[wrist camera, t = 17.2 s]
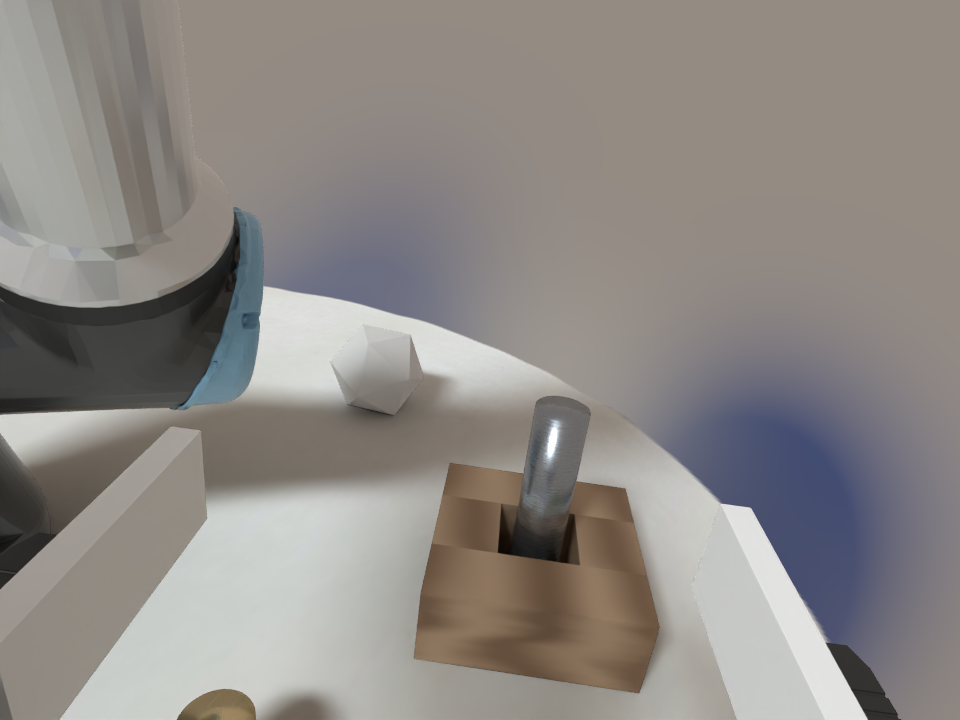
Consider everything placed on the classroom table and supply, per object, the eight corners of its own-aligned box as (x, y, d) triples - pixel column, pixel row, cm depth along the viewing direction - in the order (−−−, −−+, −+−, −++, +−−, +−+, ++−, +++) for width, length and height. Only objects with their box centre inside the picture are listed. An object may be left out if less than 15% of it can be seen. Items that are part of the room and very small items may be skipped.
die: (431, 403, 66) (402, 318, 67) (434, 400, 57) (401, 303, 58) (358, 428, 65) (329, 342, 65) (349, 429, 56) (316, 331, 57)
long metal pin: (494, 584, 42) (524, 400, 36) (532, 570, 43) (566, 392, 38) (521, 618, 39) (558, 426, 34) (560, 602, 41) (602, 417, 35)
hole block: (413, 658, 35) (420, 591, 33) (443, 518, 47) (450, 463, 45) (638, 693, 35) (659, 627, 33) (611, 542, 47) (625, 488, 45)
